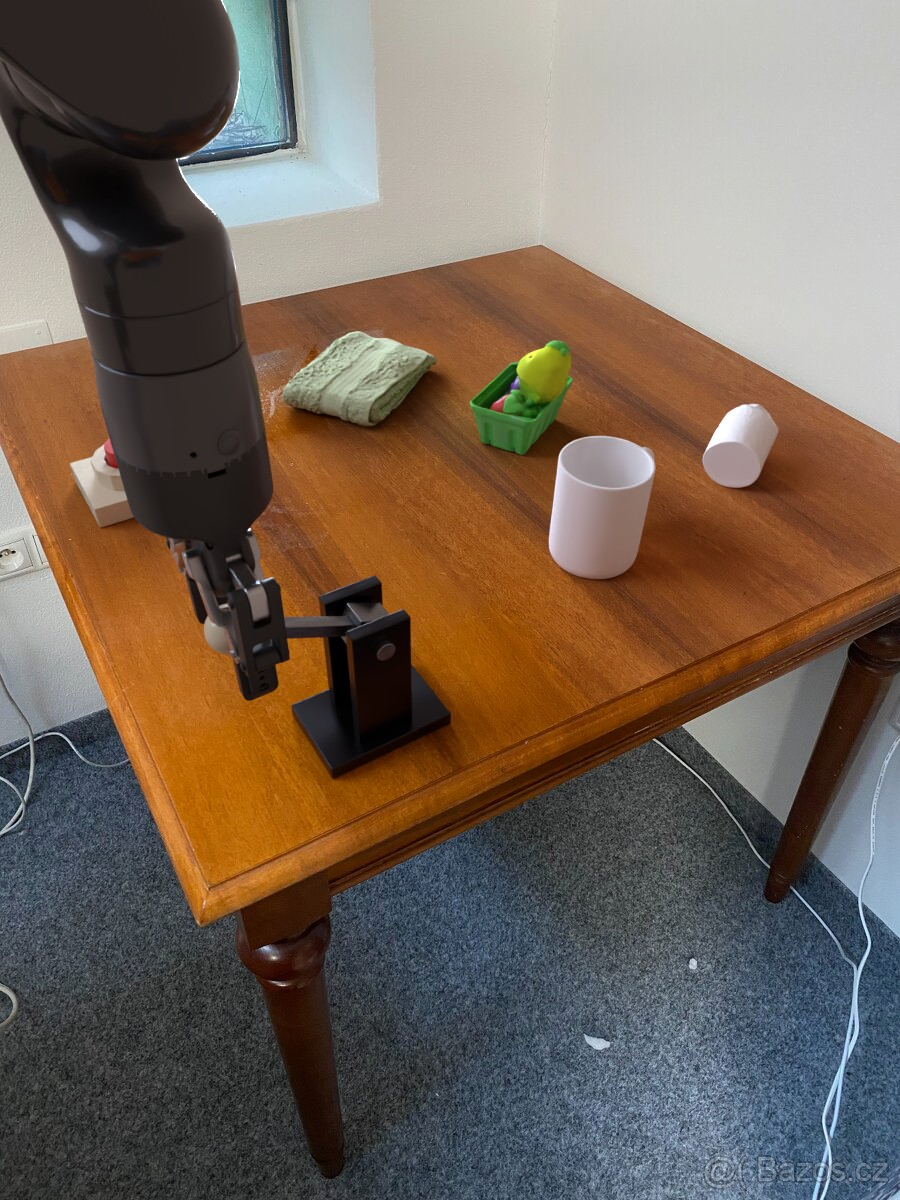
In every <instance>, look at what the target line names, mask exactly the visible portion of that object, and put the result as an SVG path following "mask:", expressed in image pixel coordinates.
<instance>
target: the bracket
mask: <svg viewBox="0 0 900 1200" xmlns="http://www.w3.org/2000/svg"><path fill="white" fill-rule="evenodd" d="M318 603H319V614H320V616H342V614H343V612H344V609H345V607H346V604H347V603H381V604H382V606H383V607H384V603H383V583H382V582H381V580H380V579H379V578H378V576H377V575H376V574H375V575H374V574H373V575H372V576H369V577H366V578H364V579H361V580H359V581H355V582H353V583H350V584H348V585H345V586H343V587H340V588H337V589H334V590H332V591H329V592H327V593H324V594H321V595H319V596H318ZM411 619H412V617H411V616H410V614H408V612H407V611H406V610H405V609H404V608H402V609H400V610H397V611H394V612H391V613H389V615H387V616H384V617H382V618H380V619H377V620H375V621H372V622H370V623H367V624H365V625H362V626H360V627H357V628H355V629H352V630H350V631H347V632H346V642H347V644H346V643H345V642H344V640H343V639H342V638H341V637H322V639H323V648H324V649H323V650H324V657H325V664H326V665H325V667H326V676H327V683H328V684H327V685H328V688H327V689H325V690H323V691H320V692H318V693H316V694H314V695H311V696H308V697H307V698H304V699H302V700H299V701H297V702H295V703H293V704H291V705H290V708H291V714H292V717H293V718H294V720H295V722H296V723H297V725H298V726H299V728H300V730H301V731H302V733H303V735H304V736H305V737H306V740H307V741H308V742H309V744H310V746H311V747H312V749H313V750H314V751H315V753H316V755H317V756H318V758H319V760H320V761H321V763H322V764H323V766H324V768H325V769H326V770H327V772H328V774H329V776H330V777H331V778H332V779H333V780H334V779H337V778H339V777H341V776H343V775H345V774H347V773H349V772H352V771H353V770H356V769H358V768H360V767H362V766H364V765H366V764H368V763H370V762H372V761H374V760H376V759H379V758H381V757H383V756H385V755H387V754H390V753H391V752H393V751H396V750H398V749H400V748H402V747H404V746H406V745H408V744H410V743H412V742H414V741H416V740H419V739H421V738H423V737H425V736H427V735H429V734H431V733H433V732H436V731H437V730H440V729H441V728H443V727H447V726H448V725H451V723H452V713H451V711H450V710H449V709H448V708H447V707H446V705H445V704H444V703H443V702H442V700H441V699H440V698H439V697H438V696H437V694H436V693H435V692H434V690H433V689H432V688H431V687H430V685H429V684H428V683H427V682H426V680H425V679H424V678H423V677H422V676H421V674H420V673H419V671H418V670H417V668H415V666H414V665H413V664H412V625H411V624H412V623H411Z"/></svg>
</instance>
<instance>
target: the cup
mask: <svg viewBox="0 0 900 1200" xmlns="http://www.w3.org/2000/svg"><path fill="white" fill-rule="evenodd" d="M655 473H656V462H655V454H654V451H653V450H652V449H651V448H649V447H647V446H640V445H638V444H637V443H634V442H632V441H629V440H627V439H624V438H620V437H616V436H607V435H591V436H585V437H581V438H577V439H574V440H572V441H571V442H569V443H567V444H566V445H565V446H563V448H562V449H561V450H560V452H559V455H558V459H557V468H556V476H555V485H554V493H553V501H552V508H551V517H550V525H549V533H548V534H549V535H548V549H549V553H550V555H551V558H552V559H553V560H554V562H555V563H556V564H557V565H558V566H559V567H560V568H562V570H564V571H565V572H567V573H569V574H571V575H573V576H575V577H580V578H583V579H588V580H589V579H590V580H607V579H612V578H615V577H618V576H620V575H622V574H624V573H625V572H627V571H628V570H629V569H630V568H631V567H632V566H633V564H634V563H635V561H636V558H637V556H638V552H639V548H640V545H641V539H642V534H643V530H644V526H645V521H646V516H647V511H648V507H649V503H650V497H651V493H652V488H653V483H654V479H655V475H656V474H655Z"/></svg>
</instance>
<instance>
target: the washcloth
mask: <svg viewBox="0 0 900 1200" xmlns="http://www.w3.org/2000/svg"><path fill="white" fill-rule="evenodd" d="M436 364H437V358H436V356H435V355H433V354H431V353H428V352H427V351H425V350H424V349H421V348H416V347H413V346H409V345H405V344H402V343H401V342H399V341H396V340H394V339H391V338H388V337H380V338H379V337H373V336H370V335H368V334H366V333H364V332H363V331H358V330H357V331H352V332H348V333H347V334H346V335H342V336H341V337H339V338H336V339H335V340H333V342H332V343H331V344H330V345H329V346H327V347H326V349H324V350H323V351H321V352H320V354H318V355H317V356H316V357H315V359H313V360H311V362H309V364H306V366H305V367H302V368H301V369H300V370H299V372H296V374H295V375H294V376H293V377H292V378H290V379H289V380H288V383H286V385H285V386H284V388H283V389H282V394H281V396H280V398H282V399H281V400H282V402H284V405H286V406H289V407H294V408H296V409H303V410H307V412H308V411H309V412H312V413H315V414H317V415H319V414H320V415H323V414H325V415H327V416H331V417H337V418H340V419H341V421H344V422H345V421H346V422H351V423H352V424H356V425H358V426H361V427H374V426H376V425H377V424H379V423H380V422H381V421H383V420H385V419H386V417H387V416H389V415H390V414H391V412H392V411H393V410H396V409H397V408H398V407H399V406H400V405H401V404H402V402H403V401H404V400H405V398H406V397H407V395H408V394H409V393H410V392H411V390H412V389H413V388H414V387H415V386H416V384H417V383H418V382H419V380H420V379H421V378H422V377H423V375H425V373H427V372H428V370H429V369H430V368H431V367H432V366H434V365H436Z"/></svg>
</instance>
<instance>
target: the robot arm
mask: <svg viewBox="0 0 900 1200" xmlns="http://www.w3.org/2000/svg"><path fill="white" fill-rule="evenodd" d="M240 65H241V64H240V54H239V47H238V42H237V38H236V33H235V30H234V26H233V23H232V21H231V18H230V16H229V13H228V11H227V8H226V7H225V4H224V2H223V0H0V118H1V121H2V124H3V125H4V129H5V131H6V133H7V135H8V137H9V140H10V142H11V144H12V146H13V148H14V150H15V153H16V155H17V156H18V160H19V161H20V163H21V165H22V168H23V170H24V172H25V175H26V176H27V179H28V180H29V182H30V185H31V187H32V189H33V192H34V194H35V197H36V198H37V200H38V202H39V205H40V206H41V208H42V210H43V212H44V214H45V216H46V218H47V220H48V221H49V223H50V225H51V227H52V229H53V231H54V232H55V234H56V237H57V239H58V241H59V243H60V246H61V248H62V250H63V253H64V256H65V259H66V262H67V265H68V269H69V275H70V279H71V285H72V288H73V292H74V296H75V300H76V303H77V307H78V310H79V313H80V317H81V320H82V321H81V322H82V324H83V328H84V331H85V335H86V339H87V342H88V346H89V349H90V352H91V357H92V362H93V368H94V376H95V384H96V391H97V397H98V401H99V405H100V409H101V413H102V417H103V419H104V423H105V427H106V430H107V433H108V437H109V438H110V441H111V444H112V448H113V451H114V455H115V458H116V462H117V465H118V469H119V472H120V476H121V479H122V483H123V486H124V490H125V493H126V497H127V500H128V504H129V507H130V510H131V512H132V514H133V516H134V517H133V518H134V519H135V520H136V522H138V524H139V525H141V526H142V527H143V528H144V529H146V530H147V531H149V532H151V533H153V534H155V535H158V536H161V537H164V538H165V539H166V540H165V544H166V548H167V549H168V550H169V551H170V553H171V555H172V558H173V559H174V562H175V564H176V566H177V569H178V571H179V573H180V574H181V575H182V576H183V578H185V581H186V584H187V588H188V592H189V597H190V600H191V604H192V608H193V612H194V616H195V617H196V619H197V621H198V622H199V623H200V624H201V625H204V624H205V621H206V618H207V616H208V617H209V619H210V621H211V622H212V623H214V624H215V625H217V626H219V627H222V629H223V631H224V634H225V637H226V640H227V643H228V645H229V648H230V651H229V653H230V655H229V657H230V658H231V659H232V661H233V666H234V670H235V671H234V672H235V675H236V680H237V684H238V689H239V692H240V694H241V695H242V697H243V699H244V700H245V701H248V702H251V701H254V700H256V699H259V698H262V697H264V696H266V695H268V694H271V693H273V692H275V691H276V690H277V689H278V687H279V685H280V684H279V678H278V673H277V672H278V671H277V667H276V665H279V664H283V663H285V662H289V661H290V659H291V657H290V653H291V652H290V649H289V642H288V641H289V640H288V639H287V634H286V627H285V619H284V617H285V612H284V606H283V598H282V588H281V585H280V583H279V582H277V580H276V579H275V577H274V576H271V577H268V578H265V574H264V572H263V568H262V566H261V563H260V560H261V557H262V552H261V548H260V546H259V542H258V539H257V536H256V535H255V533H254V531H253V529H252V528H251V527H252V526H253V524H254V523H255V522H256V521H257V520H258V519H259V517H260V516H261V515H262V514H263V513H264V512H265V511H266V509H267V508H268V507H269V505H270V503H271V501H272V499H273V494H274V480H273V474H272V473H273V472H272V467H271V461H270V453H269V446H268V439H267V432H266V425H265V418H264V411H263V404H262V398H261V392H260V384H259V378H258V373H257V370H256V365H255V363H254V360H253V357H252V353H251V350H250V346H249V342H248V337H247V333H246V327H245V322H244V321H245V320H244V315H243V309H242V301H241V295H240V289H239V282H238V273H237V272H238V271H237V267H236V261H235V255H234V251H233V247H232V243H231V240H230V236H229V234H228V231H227V229H226V227H225V225H224V223H223V221H222V220H221V219H220V217H219V216H218V214H217V213H216V212H215V210H213V209H212V208H211V207H210V206H209V205H208V204H207V203H206V202H205V201H204V200H203V199H202V198H201V197H200V196H199V195H198V194H197V193H196V192H195V191H194V190H193V188H191V186H190V185H189V183H188V182H187V180H186V178H185V176H184V175H183V172H182V169H181V167H180V164H179V161H178V160H180V159H182V158H186V157H189V156H192V155H194V154H196V153H198V152H200V151H201V150H203V149H205V148H206V147H207V146H208V145H210V144H211V143H212V142H214V140H216V138H218V136H219V135H220V134H221V133H222V132H223V130H224V129H225V127H226V126H227V125H228V122H229V121H230V119H231V117H232V115H233V112H234V110H235V107H236V103H237V101H238V100H237V99H238V95H239V89H240V78H241V77H240V75H241V67H240ZM227 603H228V604H227ZM223 604H227V606H228V607H225V608H220V607H219V606H220V605H223Z"/></svg>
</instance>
